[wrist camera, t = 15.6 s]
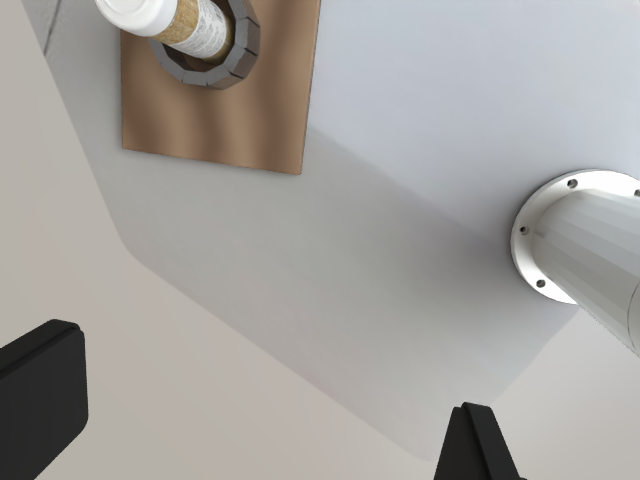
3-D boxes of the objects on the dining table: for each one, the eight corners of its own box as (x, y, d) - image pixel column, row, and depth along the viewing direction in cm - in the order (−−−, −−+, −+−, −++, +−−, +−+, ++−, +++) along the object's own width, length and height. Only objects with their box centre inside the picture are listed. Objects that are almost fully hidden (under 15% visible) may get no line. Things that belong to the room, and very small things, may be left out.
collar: (264, -13, 33) (251, -29, 30) (256, 94, 35) (243, 90, 32) (169, -22, 34) (146, -39, 31) (167, 83, 36) (146, 78, 33)
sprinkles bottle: (185, 22, 35) (72, -41, 22) (230, 1, 34) (139, -80, 21) (205, 74, 36) (109, 42, 23) (250, 54, 35) (174, 9, 22)
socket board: (331, -92, 32) (329, -103, 31) (301, 173, 38) (298, 175, 37) (129, -108, 34) (118, -119, 32) (131, 148, 40) (122, 148, 39)
